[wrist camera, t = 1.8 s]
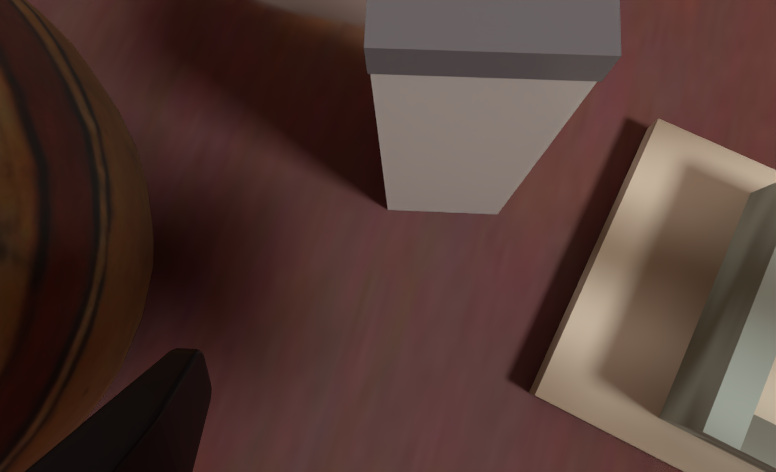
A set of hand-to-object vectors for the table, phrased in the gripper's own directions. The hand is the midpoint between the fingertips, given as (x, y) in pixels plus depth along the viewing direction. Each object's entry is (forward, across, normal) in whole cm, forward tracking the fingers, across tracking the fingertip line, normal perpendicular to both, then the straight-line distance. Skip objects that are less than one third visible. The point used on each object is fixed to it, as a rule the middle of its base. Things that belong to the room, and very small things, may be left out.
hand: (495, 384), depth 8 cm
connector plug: (+15, 0, +4) cm, 16 cm away
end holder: (+10, -14, +9) cm, 20 cm away
